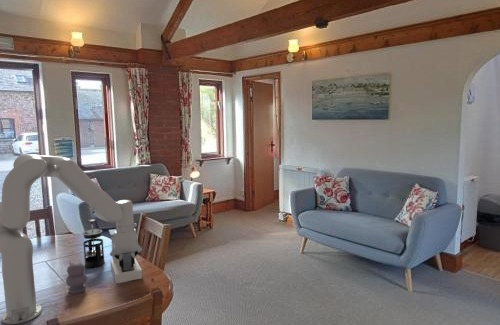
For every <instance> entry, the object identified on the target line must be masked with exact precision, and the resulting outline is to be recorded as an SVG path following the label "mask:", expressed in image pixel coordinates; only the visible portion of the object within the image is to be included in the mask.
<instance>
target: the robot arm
mask: <svg viewBox="0 0 500 325" xmlns="http://www.w3.org/2000/svg"><path fill="white" fill-rule="evenodd" d="M12 166H13V168H12V169H11V170H10V171H9V172H8V173H7V175H6V176H5V178H4V181H3V183H2V190H1V202H0V255H1V276H2V282H3V283H2V284H3V292H4V300H5V312H4V313H3V314H2V316H1V322H2V323H4V324H6V325H19V324H23V323H27V322H28V321H31V320H33V319H35V318H37V317H38V316H39V315H40V314H41V313H42V310H43V308H42V306H41V304H38V303H37V295H36V294H37V293H36V284H35V275H34V274H35V273H34V264H33V263H34V262H33V259H34V258H33V257H34V256H33V255H34V254H33V253H34V246H33V242H32V240H31V239H30V238H31V237H29V236H28V235H27V234H26V233H24V232H23V228H25V227H26V226H27V225H28V223H29V222H30V217H31V212H30V211H31V210H30V207H31V206H30V202H31V200H30V198H31V188H32V186H33V185H34V183H35V182H36V181H37V180H38V179H40V178H42V177H46V178H47V177H48V178H57V179H58V180H59V181H60V182H62V184H63V185H64V186H66V187H67V188H68V189H69V190H70V192H71V193H72V194H73V195H75V197H77V198H78V199H80V200H81V201H83V202H85V203H86V204H87V205H89V206H91V207H92V208H94V215H95V216H96V218H98V219H99V220H102V221H104V222H107V223H108V224H115V229H116V231H115V232H114V248H113V249H112V248H111V251H110V253H109V254H110V256H111V257H112V258H113V257H115V258H117V259H118V260H119V266H120V267H121V268H122V269H123V260H122V254H124V253H130V252H131V264H132V267H134V264H135V258H136V257H137V256H138V254H139V253H141V252H142V251H143V248H142V247H141V246H140V244H139V241H138V240H139V239H138V235H137V231H136V227H138V224H137V223H135V222H134V221H135V220H134V207H133V206H134V205H133V201H132V200H130V199H120V200H117V201H116V200H114V199H113V198H112V197H111V195H109V194H108V193H107V192H106V191H104V190H103V189H102V188H101V187H100V186H99V185H98V184H96V183H95V182H94V180H92V179H91V178H90V176H88V174H87V173H86V172H85V171H84V170H83V169H82V168H81V166H79V165H78V164H77V163H76V162H75V161H74V160H72V159H71V158H69V157H63V156H57V155H56V156H54V155H39V154H28V153H27V154H26V153H24V154H21V155H18V156H17V157H16V158H15V159H14V161H13V165H12ZM115 253H116V254H115ZM117 254H118V255H117Z"/></svg>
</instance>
